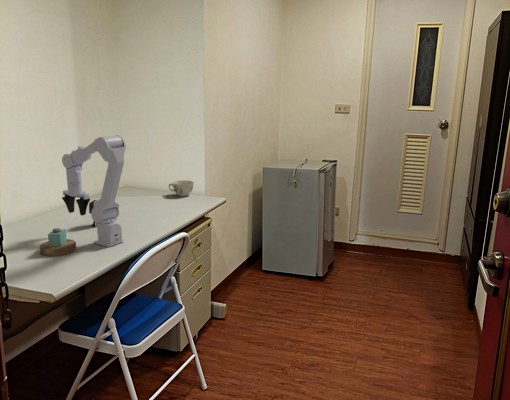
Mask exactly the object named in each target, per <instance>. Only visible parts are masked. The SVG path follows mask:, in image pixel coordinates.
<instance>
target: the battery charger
mask: <svg viewBox="0 0 510 400" xmlns="http://www.w3.org/2000/svg"><path fill="white" fill-rule="evenodd" d="M98 200H99V199H94V200H91V201H89V203H88V213H89V214H91V211H92V209H93V208H94V205H95V203H96V202H97V201H98ZM91 226H92V227H96V228H97V223H95V221H94V220H93V222H92V224H91Z"/></svg>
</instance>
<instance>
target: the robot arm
mask: <svg viewBox="0 0 510 400" xmlns="http://www.w3.org/2000/svg"><path fill="white" fill-rule="evenodd" d="M126 148H127V144H126V142H125V139H124V137H123V136H122V135H119V134H117V135H112V136H98V137H97V138H95V139H94V140H93V141H92V142H91V143H90V144H88V145H87V146H85V145H79V146H77V149H75V150H72V151H71V152H70V153H64V154H63V156H62V158H61V162H62V165H63V167H64V168H65V172H66V175H65V176H66V183H67V189H65V190H62V195H63V196H61V199H62V201H63V202H64V203H65V206H66V207H67V208H66V209H67V211H68V213H69V214H71V213H74V212H75V202H76V203H77V206H78V210H79V215H80V216H86V214H87V208H88V207H89V203H90V202H91V198H90V195H89V193H86V192H85V190H83V181H82V170H83V165H84V163H85V162H87V161H88V160H90V159H91V158H92V155H93V154H95V153H97V152H98V154H99V155H100V157H101V158H102V159H103V161H104V162H107V168H106V173H105V176H104V181H103V186H102V190H101V196H100V198H99V199H97V200H98V201H97V202H96V203H95V205H94V208H93V209H92V211H91V219H92V220H93V222H94V221H95V223H97V227H96V230H97V234H96V235H97V240H95V241H93V244H96V245H100V246H104V247H107V248H109V247H112V246H115V245H119V244H122V243H123V242H124V240H123V235H122V234H123V233H122V232H123V231H122V226H121V225H120V224H119V223H118V222H117V220H118V219H117V218H118V217H119V215H120V208H119V207H120V203H119V202H118V201H117V200H116V199H117V198H116V197H117V193H118V190H119V185H120V180H121V176H122V173H123V168H124V165H125V152H126ZM77 198H78V199H77Z"/></svg>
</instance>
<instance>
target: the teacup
mask: <svg viewBox="0 0 510 400" xmlns="http://www.w3.org/2000/svg"><path fill="white" fill-rule="evenodd" d="M194 184H195V182H194V181H192V180H176V181H172V182H171V183H169V184H168V188H169V190H170V191H171V192H174V193H175V194H176V195H177V196H178V197H182V198H183V197H188V196H189V195H190V194H191V193H192V192H193V189H194ZM171 186H172V188H171Z"/></svg>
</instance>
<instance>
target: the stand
mask: <svg viewBox="0 0 510 400" xmlns="http://www.w3.org/2000/svg"><path fill="white" fill-rule="evenodd" d="M66 239H67V242H66V243H65V244H64V245H62V246H61V247H49V240H47V241H44V242H43V243H41V244H39V251H40V255H41V256H44V255H45V257H60V256H65V255H70V254H71V253H74V252H75V251H76V250H77V242H76V241H75V240H74V239H69V238H66Z"/></svg>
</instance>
